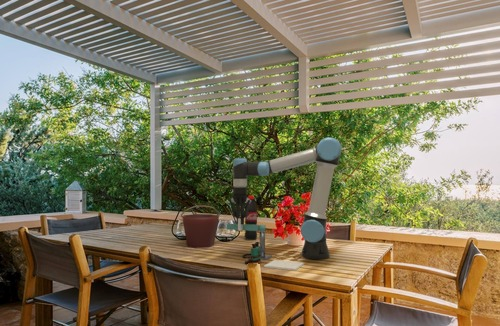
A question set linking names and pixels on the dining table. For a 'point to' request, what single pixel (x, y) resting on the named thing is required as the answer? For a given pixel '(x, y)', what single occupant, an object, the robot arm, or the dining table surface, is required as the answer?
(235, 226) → the swing arm
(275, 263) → the tile
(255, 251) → the binoculars
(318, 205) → the robot arm
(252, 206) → the cola bottle
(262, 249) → the post
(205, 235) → the bucket
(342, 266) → the dining table surface
